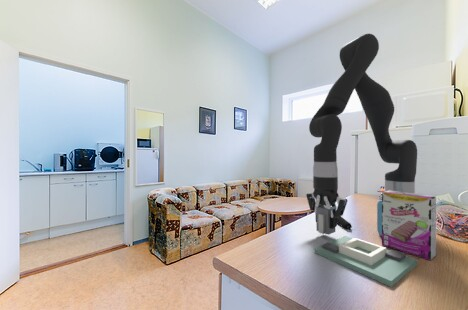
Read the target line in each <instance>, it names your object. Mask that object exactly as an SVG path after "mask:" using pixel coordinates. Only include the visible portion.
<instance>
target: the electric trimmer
mask: <svg viewBox="0 0 468 310" xmlns="http://www.w3.org/2000/svg"><path fill="white" fill-rule="evenodd" d="M337 225H339V226H341V227H342V228H344V229H352V223H351V222H349V221H347V220H346V219H345V218H344V217H343V216H339V217H337Z"/></svg>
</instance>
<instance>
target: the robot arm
mask: <svg viewBox="0 0 468 310" xmlns="http://www.w3.org/2000/svg"><path fill="white" fill-rule="evenodd" d="M379 44H380V43H379V40H378V38H377V36H375V35H374V34H372V33H365V34H362V35H360V36H358V37H356V38H355V39H353V40H351V41H349V42H347V43H345V44H344V45H343V46H342V47H341V48H340V50H339V60H340V63H341V66H342V68H343V69H344V72H342V74H341V75H340V76H339V77H338V79H337V80H336V81H335V82H334V83H333V84H332V87H330V90H329V91H328V93H327V95H326V97H325V100H324V102H323V104H322V105H321V106H320V107H319V108H318V110H317V111H316V113H315V114H314V115H313V117H312V118H311V120H310V123H309V128H308V129H309V130H308V131H309V134H311V136H312V137H314V138H321V140H320V143H318V144H316V145H315V146H314V147H313V167H312V175H313V176H312V177H313V178H312V179H313V180H312V183H313V184H312V185H313V186H312V187H313V189H314V191H313V192H309V193H306V194H305V195H306V198H307V199H306V200H307V203H308V207H309V209H310V211H312V212H314V213H315V216H316V207H321V206H327V209H328V210H329V213H330V228H331V229H334V228H335V229H336V227H337V225H338V224H337V217H339V216H341V217H343V215H344V212H345V209H346V207H347V203H348V199H347V198H343V197H340V195H339V193H338V188H339V180H338V178H339V177H338V176H339V175H338V174H339V173H338V172H339V170H338V163H337V161H338V160H337V148H338V146H339V141H340V138H341V134H342V130H343V129H342V127H343V126H342V121H341V119H340V117H338V116H339V115H341V114H342V113H343V112H344V111H345V110H346V108H347V106H348V103H349V101H350V98H351V96H352V94H353V92H354V90H355V93H356V95H357V97H358V99H359V102H360V104H361V107H362V110H363V112H364V115H365V116H366V118H367V120H368V124H369V126H370V129H371V131H372V134H373V136H374V140H375V144H376V147H377V150H378V154H379V156H380V158H381V160H382V161H383V162H384V163H386V164H398V167H397V168H396V169H394V170H392V171H389V172H385V174H384V191H388V190H390V191H398V192H406V193H414V194H416V191H415V190H416V188H415V187H416V175H417V166H418V165H417V163H418V162H417V161H418V147H417V146H418V145H416V143H415V141H413V139H412V140H411V139H401V140H399V139H397V140H393V139H392V138H391V135H390V129H389V128H390V124H391V122H392V121H393V116H394V113H395V105H394V102H393V99H392V97H391V94H390V92H389V91H388V90H387V89H386V88H385V87H384V86H383V85H381V84H380V83H378V82H376V80H374V79H373V78H372V77H370V75H368V74H367V70H368V68H369V67H370V66H371V64H372V62H373V61H374V60H375V58H376V57H377V55H378V52H379V49H380V45H379ZM336 202H337V204H336Z"/></svg>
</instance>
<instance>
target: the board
mask: <svg viewBox="0 0 468 310" xmlns="http://www.w3.org/2000/svg"><path fill="white" fill-rule="evenodd" d="M314 253H315V254H317V255H320V256H322V257H324V258H326V259H328V260H330V261H332V262H335V263H337V264H339V265H341V266H344V267H346V268H348V269H350V270H353V271H355V272H357V273H359V274H361V275H364V276H366V277H368V278H370V279H373V280H375V281H377V282H380V283H382V284H384V285H386V286H388V287H391V288H392V287H393V286H395V284H397V283H398V282H399V281H400V280H401V279H403V277H405V276H406V275H407V274H408V273H409V272H410V271H412V270H413V269H414V268H416V266H418V258H415V257H411V256H408V255H407V253H405V252H402V251H398V250H395V249H391V250H390V249H388V248H387V247H386V246H383V245H379V244H376V243H373V242H370V241H366V240H364V239H363V240H362V239H359V238H357V237H354V238H353V237H349V236H346V235H344V236H341V237H339V238H336V239H335V240H331V241H329V242H326V243H324V244H321V245H318V246H317V247H314Z"/></svg>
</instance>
